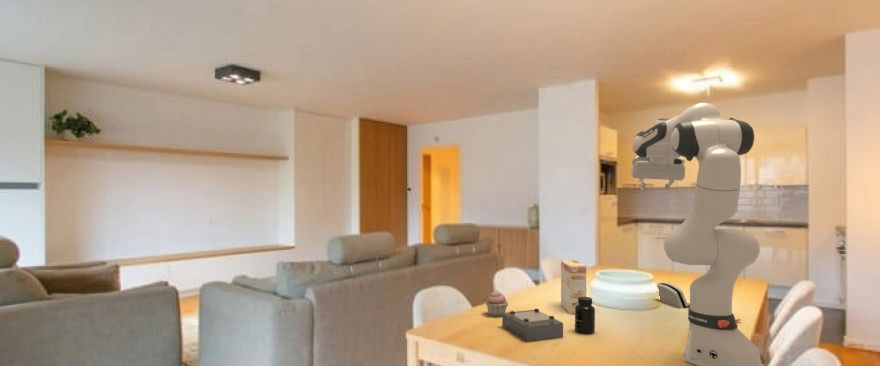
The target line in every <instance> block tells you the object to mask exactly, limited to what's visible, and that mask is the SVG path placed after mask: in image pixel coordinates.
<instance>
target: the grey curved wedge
mask: <svg viewBox="0 0 880 366" xmlns="http://www.w3.org/2000/svg"><path fill="white" fill-rule="evenodd" d="M656 285H657V287H658V289H659V296H660V300H661V301H660V300H659V301H660V302H662V301H663V303H665V304H668V305H671V306H673V307H676V308H678V309H684V307H686V308H688V309H689V308H690V302H689V303H688V302H687V299H686V297H685V293H684V292H683V290H682V289H680V287H678V286H676V285H674V284H672V283H670V282H660V283H657V284H656Z"/></svg>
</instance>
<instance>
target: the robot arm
mask: <svg viewBox="0 0 880 366" xmlns="http://www.w3.org/2000/svg"><path fill="white" fill-rule="evenodd" d="M754 142H755V132H754V128H753V127H752V126H751V124H749V123H747V122H745V121H742V120H739V119H736V118H733V117H730V118H728V119H723V118H721V114H720V111H719V109H718V108H717V107H716V106H715V105H714V104H712V103H708V102H699V103H695V104H693V105H691V106H689V107H687V108H686V109H684V111H682V112H681V113H680V114H678V115H676V116H674V117H672V118H658V119H656V121H655V124H654V126H651V127H650V128H649V129H647V130H645V131H643V130H642V131H640V132H638V133H637V134H636V135H635V136H634V138H633V141H632V150H633V153H635V155H637V156H634V158H632V162H631V163H632V164H631V165H632V167H631V171H630V175H631V176H632V178H633V179H638V180H639V182H640V188H641V189H645V188H646V183H645V182H643V181H644V179H647V180H648V179H649V180H666V181H667V180H668V181H669V182H667V183H665V184H664V189H665V190H670V189H671V186H672V185H673V184H674V182H675V181H683V180H684V179H685V178H686V177H685V176H686V166H685V163H686V161H688V162H691V161H692V160H693V159H694V158H695V159H696V161H697V163H698V171H697V176H696V184H695V192H694V199H693V203H692V208H691V210H690V212H689V214H688V216H687V217H686V219H684V221H683V222H682V223H681V224H680V225H678V226H677V227H676V228H674V229H672V230H671V231H669V232H668V233H667V235H666V236H665V238H664V241H663V248H664V252H665V254H666V257H667V258H669V260H670V261H671V262H674V263H678V264H684V265H688V266H689V265H690V266H709V268H708V270H707V272H706V273H705V274H703V275H701V276H698V277H697V278H695V279H694V280H692V282H691V284H690V286H689V304H690V308H689V307H688V309H687V311H688V313H687V321H688V323H689V324H688V325H689V326H688V333H687V340H686V345H685V348H684V352H683V356H684V361H685V362H687V363H690V364H692V365H695V366H765V364H764V365H763V364H762V361H761V360H762V359H761V355H760V351H759V349H758V347H757V346H756V345H755V344H754V343H753V342H752V341H751V340H750V339H748V337H747V336H745V334H744V333H743V332H742V331H741V330H740V329H739V328H738V327H739V326H738V324H741V321H742V319H741V318H738V319H736V318H735V315H734V313H733V294H734V288H735V284H736V282H737V280H738V278H739V276H740V275H741V273H742V272H743V271H745V269H747V268H748V267H749V266H750V265H752V264H754V263H755V261H757V259H758V257H759V256H760V249H761V246H760V243H759V241H758V239H757V238H756V236H755V235H754V234H753V233H751V232H750V231H744V230H739V229H735V228H733V229H732V228H731V229H730V228H717V227H718V226H719V225H720V224H721V223H724V222H725V221H728V220H730V219H731V218H733V217H734V216H735V215H736V213H737V212H738V205H739V199H740V192H741V191H740V190H741V182H742V167H741V166H742V165H741V158H740V156H743V155H745V154H747V153H749V152H750V151H751V150H752V148H753V146H754ZM684 158H685V159H686V160H685V159H684Z"/></svg>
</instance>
